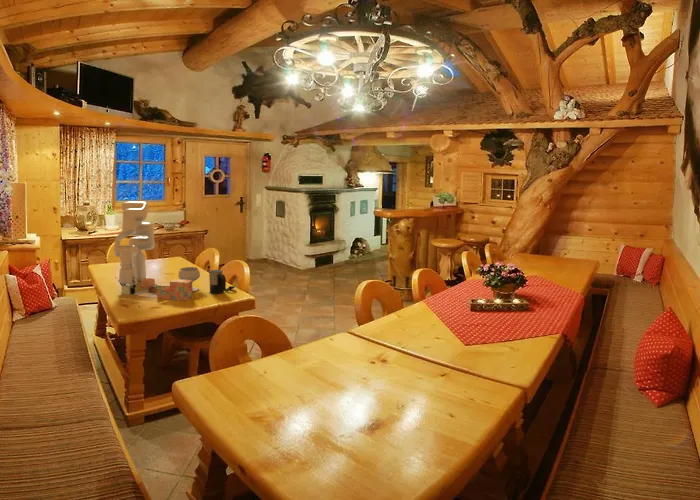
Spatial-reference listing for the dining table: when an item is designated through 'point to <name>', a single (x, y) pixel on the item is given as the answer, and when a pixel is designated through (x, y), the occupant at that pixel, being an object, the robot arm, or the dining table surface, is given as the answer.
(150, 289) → the walnut block
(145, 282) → the terracotta block
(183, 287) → the stack of blocks
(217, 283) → the milk frother
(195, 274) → the chalice
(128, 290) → the sage block
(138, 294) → the board
